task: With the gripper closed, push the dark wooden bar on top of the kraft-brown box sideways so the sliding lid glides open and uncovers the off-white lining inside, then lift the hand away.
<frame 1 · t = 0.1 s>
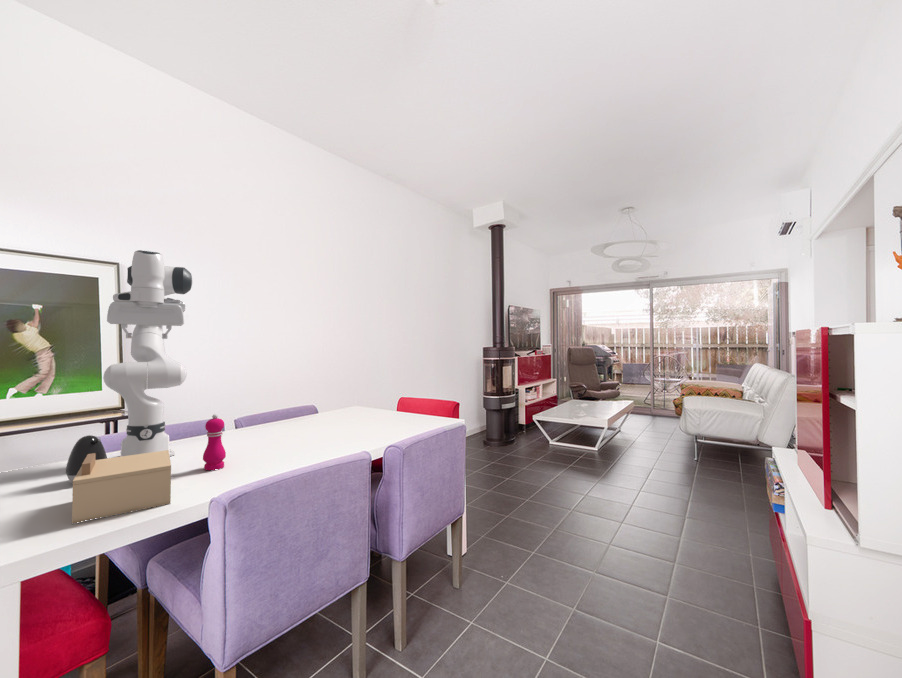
hand: (147, 338, 126), 48 cm above the table, tool pointing down, fingers open, 8 cm apart
box: (126, 501, 108), on the table
black egg shape: (87, 481, 125), on the table
pepper mill: (214, 468, 138), on the table
lid: (126, 460, 109), point 12 cm above the table, slide at 0.0 cm
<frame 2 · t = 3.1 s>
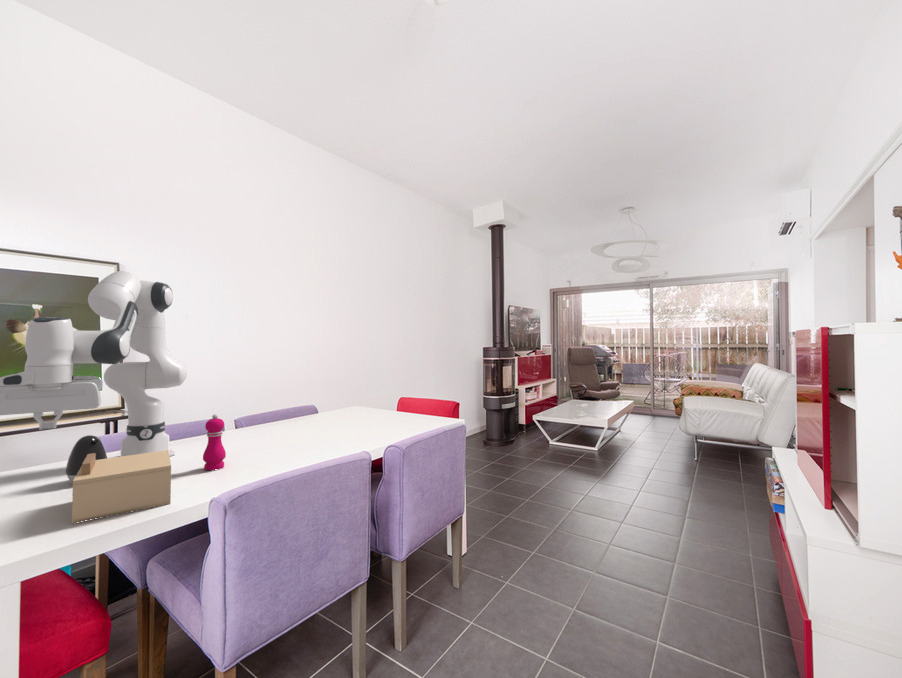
hand: (48, 428, 99), 23 cm above the table, tool pointing down, fingers closed
nothing on the table moved.
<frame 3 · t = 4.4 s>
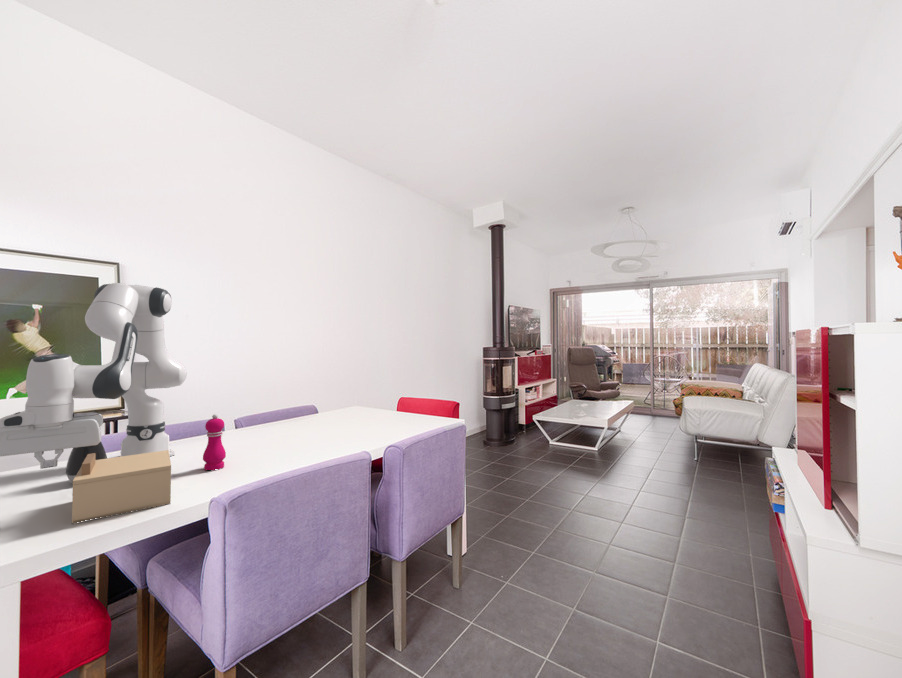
hand: (48, 467, 99), 13 cm above the table, tool pointing down, fingers closed
nothing on the table moved.
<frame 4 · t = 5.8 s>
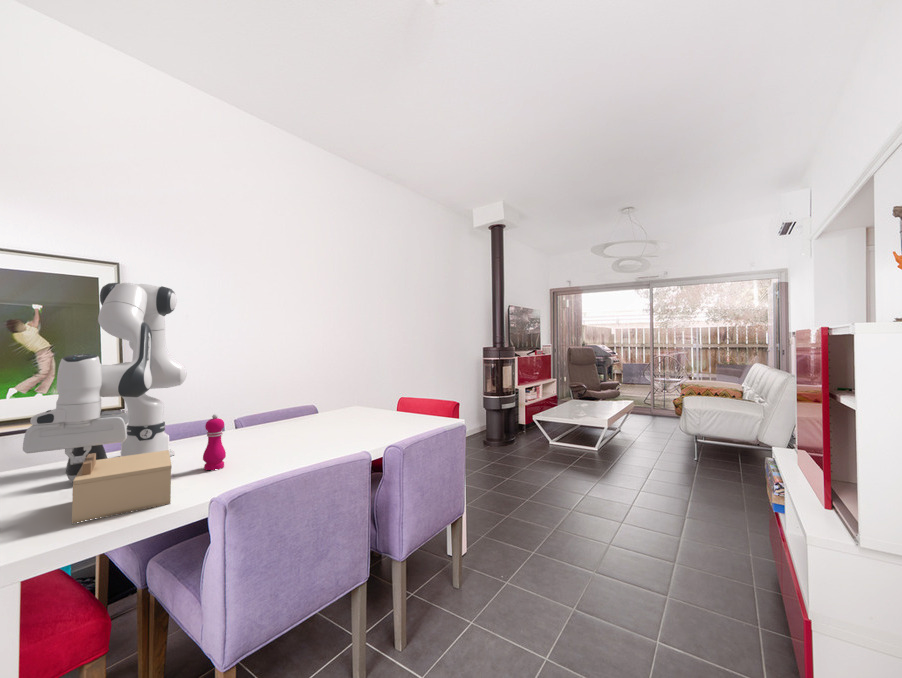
hand: (78, 463, 102), 13 cm above the table, tool pointing down, fingers closed
lid: (127, 460, 109), point 12 cm above the table, slide at 0.1 cm, touching gripper
everything else where it was.
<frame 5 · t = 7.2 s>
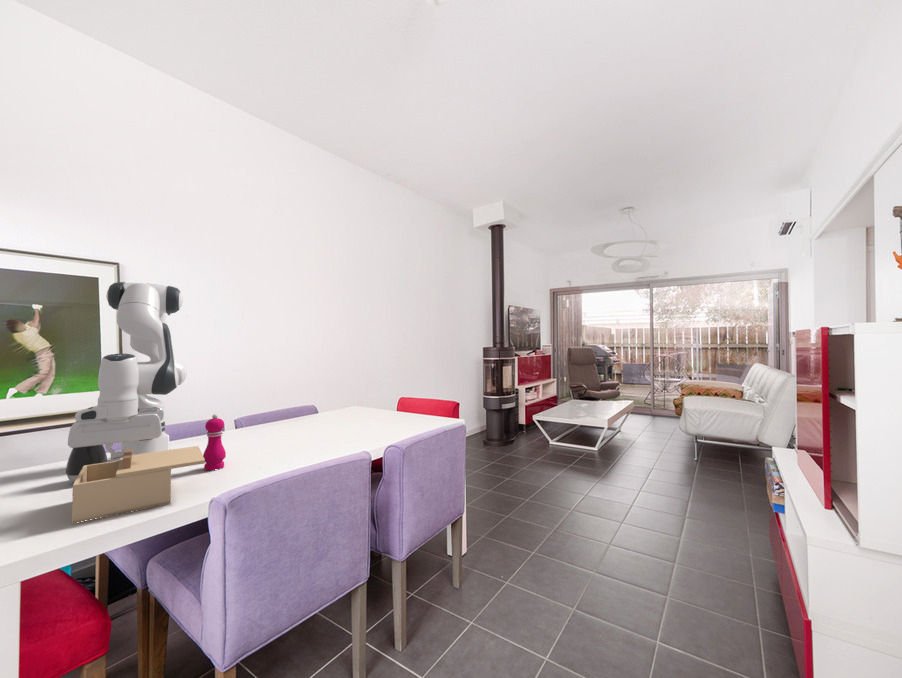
hand: (117, 457, 108), 13 cm above the table, tool pointing down, fingers closed
lid: (162, 455, 114), point 12 cm above the table, slide at 8.2 cm, touching gripper
everything else where it was.
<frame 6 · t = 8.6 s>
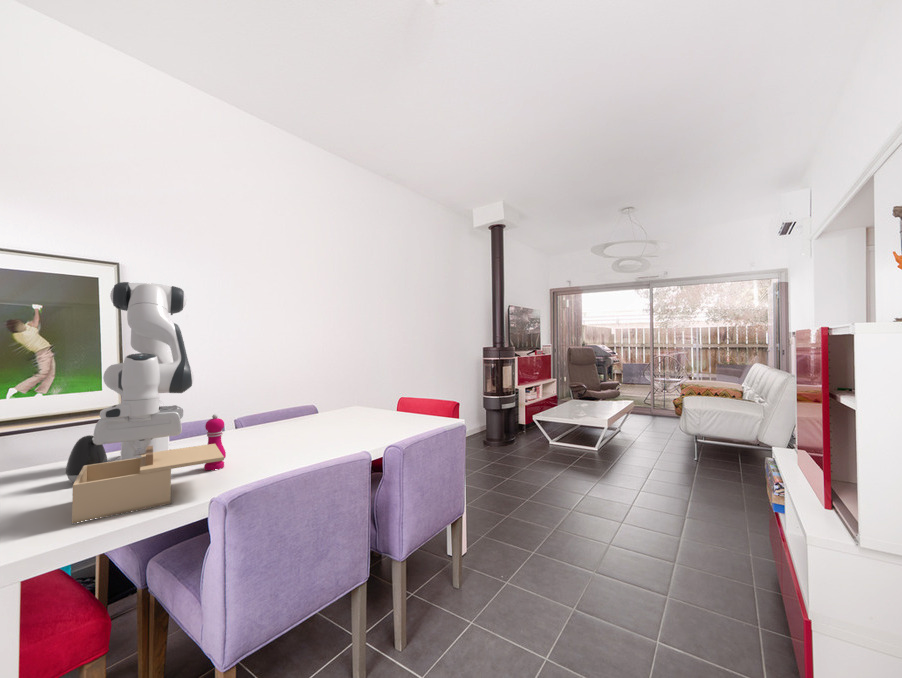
hand: (139, 454, 111), 13 cm above the table, tool pointing down, fingers closed
lid: (182, 452, 117), point 12 cm above the table, slide at 13.1 cm, touching gripper
everything else where it was.
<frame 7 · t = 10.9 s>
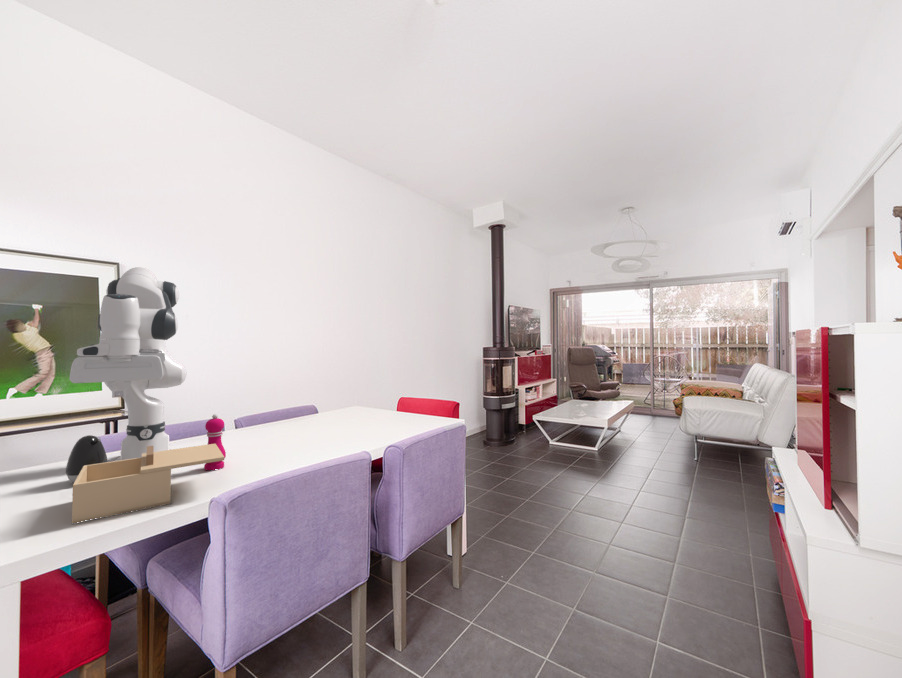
hand: (119, 397, 108), 31 cm above the table, tool pointing down, fingers closed
lid: (182, 452, 117), point 12 cm above the table, slide at 13.2 cm
everything else where it was.
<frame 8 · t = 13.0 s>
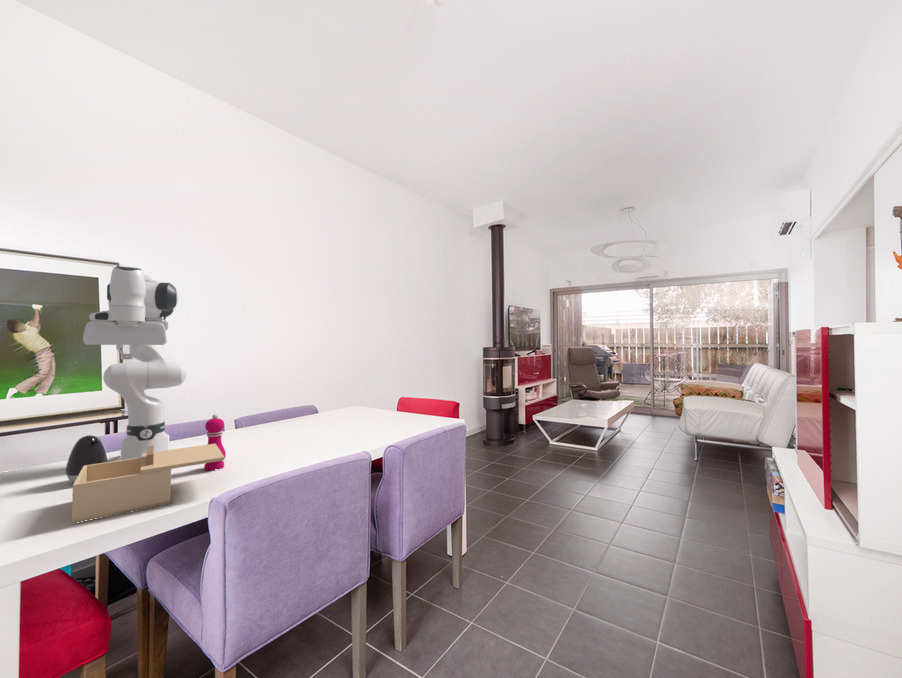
hand: (126, 359, 120), 41 cm above the table, tool pointing down, fingers closed
nothing on the table moved.
at the end: lid slide at 13.2 cm; the gripper is holding nothing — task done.
